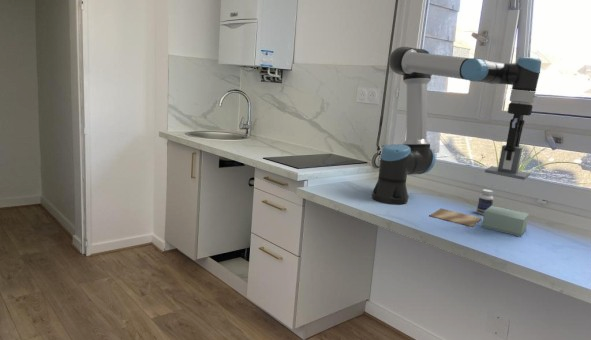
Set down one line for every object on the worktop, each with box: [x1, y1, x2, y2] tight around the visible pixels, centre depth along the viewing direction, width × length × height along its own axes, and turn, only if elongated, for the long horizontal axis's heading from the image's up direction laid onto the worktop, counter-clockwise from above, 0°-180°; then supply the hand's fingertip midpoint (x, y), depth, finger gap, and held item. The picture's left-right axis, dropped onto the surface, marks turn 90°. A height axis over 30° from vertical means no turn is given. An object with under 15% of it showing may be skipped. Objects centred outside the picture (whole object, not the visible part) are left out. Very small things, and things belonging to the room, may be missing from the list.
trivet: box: [429, 208, 483, 228], centre depth 168 cm, size 16×14×1 cm
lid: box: [484, 144, 531, 181], centre depth 157 cm, size 13×11×10 cm
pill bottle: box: [476, 188, 494, 216], centre depth 177 cm, size 5×5×10 cm
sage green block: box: [480, 205, 529, 237], centre depth 160 cm, size 13×11×6 cm
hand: (508, 168), depth 157 cm, fingers closed on lid, 4 cm apart
